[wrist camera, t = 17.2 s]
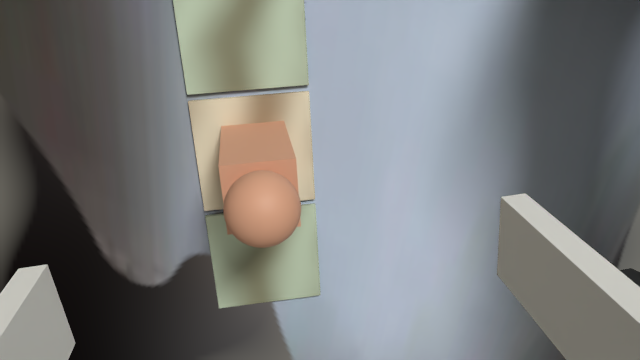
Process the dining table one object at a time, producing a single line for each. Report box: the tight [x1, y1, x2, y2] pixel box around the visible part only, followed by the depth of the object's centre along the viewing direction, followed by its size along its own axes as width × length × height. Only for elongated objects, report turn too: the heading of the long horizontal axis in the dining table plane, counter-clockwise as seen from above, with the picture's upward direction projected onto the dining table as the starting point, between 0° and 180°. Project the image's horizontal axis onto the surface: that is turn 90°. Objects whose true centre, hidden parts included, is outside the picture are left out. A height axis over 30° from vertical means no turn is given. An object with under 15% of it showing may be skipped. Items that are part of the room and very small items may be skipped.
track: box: [173, 0, 320, 308], centre depth 37 cm, size 8×36×1 cm, turn 3°
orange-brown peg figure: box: [218, 121, 301, 248], centre depth 33 cm, size 4×4×12 cm
